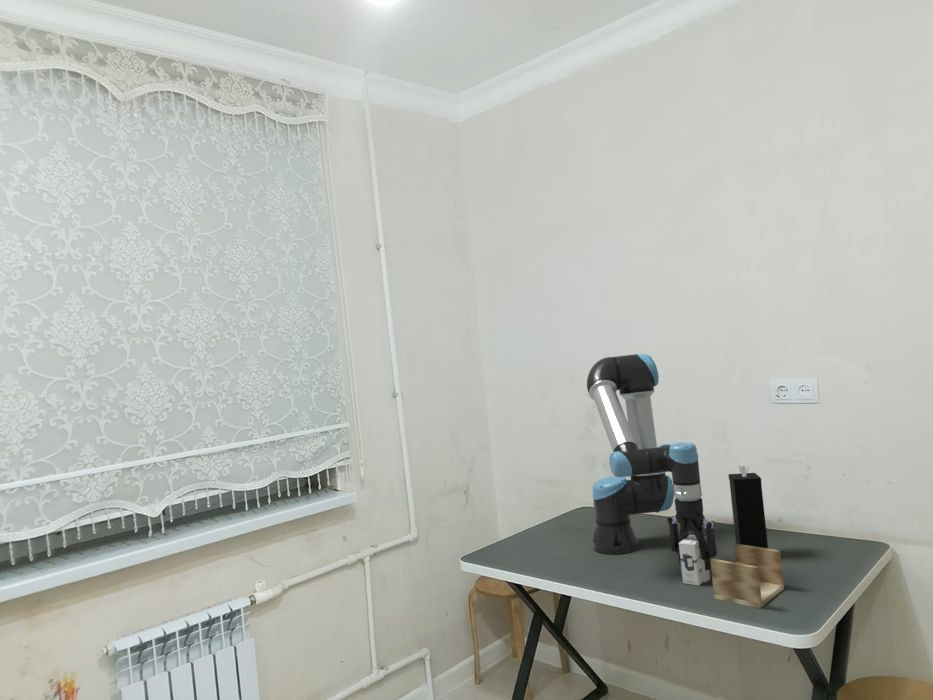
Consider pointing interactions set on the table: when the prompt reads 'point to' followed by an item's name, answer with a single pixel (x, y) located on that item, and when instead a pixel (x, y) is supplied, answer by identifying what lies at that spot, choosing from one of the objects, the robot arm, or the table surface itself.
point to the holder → (748, 576)
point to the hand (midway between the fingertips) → (696, 578)
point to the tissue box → (748, 508)
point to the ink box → (691, 560)
